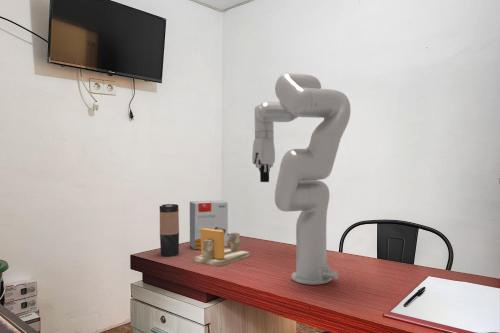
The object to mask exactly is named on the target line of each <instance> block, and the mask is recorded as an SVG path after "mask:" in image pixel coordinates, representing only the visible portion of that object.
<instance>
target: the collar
mask: <svg viewBox="0 0 500 333" xmlns="http://www.w3.org/2000/svg"><path fill="white" fill-rule="evenodd" d="M206 239H207V240H214V247H213V258H218V259H222V258H224V248H225V247H224V231H221V230H214V229H207V228H203V229H201V249H200V255H203V240H206Z"/></svg>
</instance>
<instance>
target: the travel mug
mask: <svg viewBox="0 0 500 333" xmlns="http://www.w3.org/2000/svg"><path fill="white" fill-rule="evenodd" d="M179 212H180V211H179V204H176V203H167V204H162V205H159V240H160V241H159V242H160V244H159V245H160V256H162V257H175V256H178V255H179V252H180V249H179V248H180V218H179V217H180V216H179V214H180V213H179Z"/></svg>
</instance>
